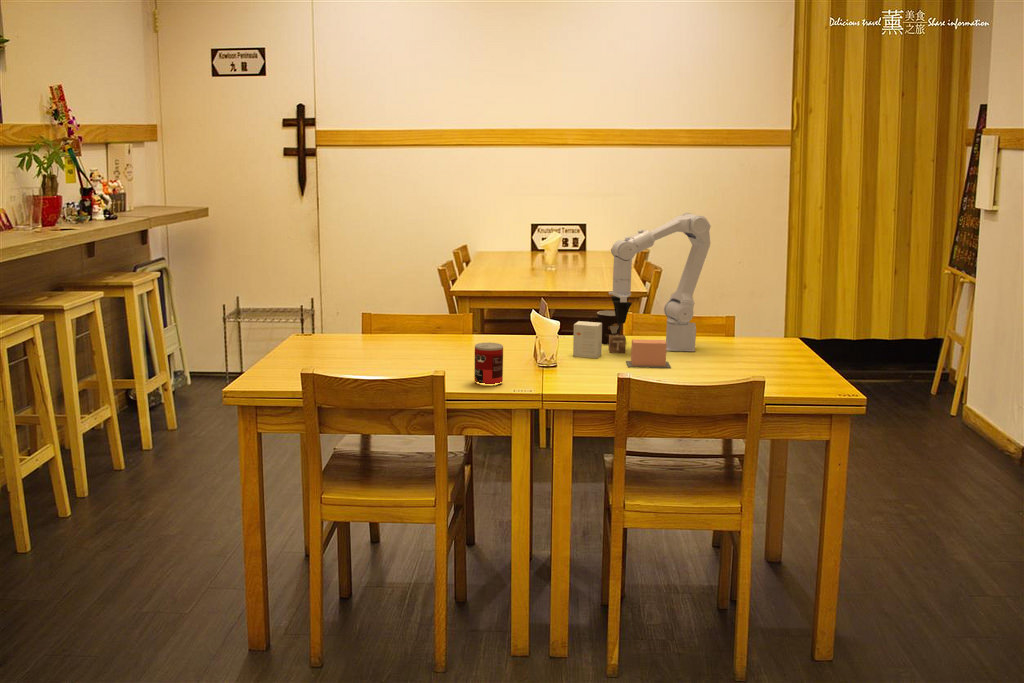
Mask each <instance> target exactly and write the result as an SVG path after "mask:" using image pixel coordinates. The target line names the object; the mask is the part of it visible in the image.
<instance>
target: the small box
mask: <svg viewBox="0 0 1024 683" xmlns="http://www.w3.org/2000/svg"><path fill="white" fill-rule="evenodd" d="M572 341H573V342H572V343H573V345H572V346H573V348H572V351H573V352H572V355H573V357H574V358H575V357H577V358H585V359H587V358H588V359H598V358H600V356H602V351H603V350H602V345H603V344H602V323H598V322H597V321H596V322H595V321H594V322H593V321H590V322H588V321H580V320H578V321H577V322H575V323H574V324H573V340H572Z"/></svg>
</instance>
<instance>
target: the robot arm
mask: <svg viewBox="0 0 1024 683" xmlns="http://www.w3.org/2000/svg"><path fill="white" fill-rule="evenodd" d="M711 227H712V226H711V224H710V222H709V220H708V219H707V217H705V216H704V215H700V214H699V215H698V214H694V213H693V214H692V213H690V212H686V213H683V214H682V215H677V216H675V217H674V218H672V219H670V220H668V221H667V222H666V223H663V224H661V225H660V226H658V227H655V228H653V229H652V230H647V229H639V230H638V231H637V233H635V234H633V235H630V236H625V238H624V240H622V239H620V240H619V239H618V240H616V241H615V242H613V243H614V244H612V246H611V247H612V248H610V253H611V255H612V256H613V268H612V270H613V271H612V291H608V295H609V296H610V298H611V300H612V304H613V308H614V311H615V316H616V318H617V319H618V323H622V324H626V321H627V316H628V313H629V310H630V307H631V306H632V304H633V303H632V301H628V300H629V298H630V297H631V296H632V292H631V289H632V265H633V264H632V262H633V259H634V258H635V257H636V254H639V253H641V252H643V251H646V250H647V249H649V248H652V247H653V246H654V245H655V242H656V241H658V240H660V239H662V238H665V237H667V236H669V235H672V234H675V233H683V234H685V236H686V237H688V240H689V241H690V243H691V247H690V250H689V254H688V256H687V260H686V262H685V265H684V268H683V270H682V274H681V277H680V279H679V282H678V286H677V288H676V291H674V292H673V293H672V294H671V295H670V298H669V300H668V301H667V302H666V303H665V305H664V307H663V313H664V315H665V316H666V332H665V335H666V336H665V342H666V343H667V347H666V352H696V339H697V338H696V337H697V335H696V334H697V327H696V322H690V321H691V320H692V319H693V317H694V308H695V306H694V305H695V300H694V293H695V290H696V288H697V283H698V281H699V278H700V276H701V272H702V270H703V268H704V267H703V266H704V265H705V261H706V259H707V255H708V253H709V249H710V246H711V236H710V229H711Z"/></svg>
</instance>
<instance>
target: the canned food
mask: <svg viewBox="0 0 1024 683" xmlns="http://www.w3.org/2000/svg"><path fill="white" fill-rule="evenodd" d="M503 374H504V345H503V344H501V343H498V342H479V343H475V345H474V382H475V381H476V382H479V383H485V384H495V383H500V382H502V383H503V380H504V379H503V378H504V377H503Z"/></svg>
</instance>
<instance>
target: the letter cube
mask: <svg viewBox="0 0 1024 683" xmlns="http://www.w3.org/2000/svg"><path fill="white" fill-rule="evenodd" d="M626 343H627V337H626V335H625V334H620V335H609V345H608V353H609V354H626V345H627V344H626Z"/></svg>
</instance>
